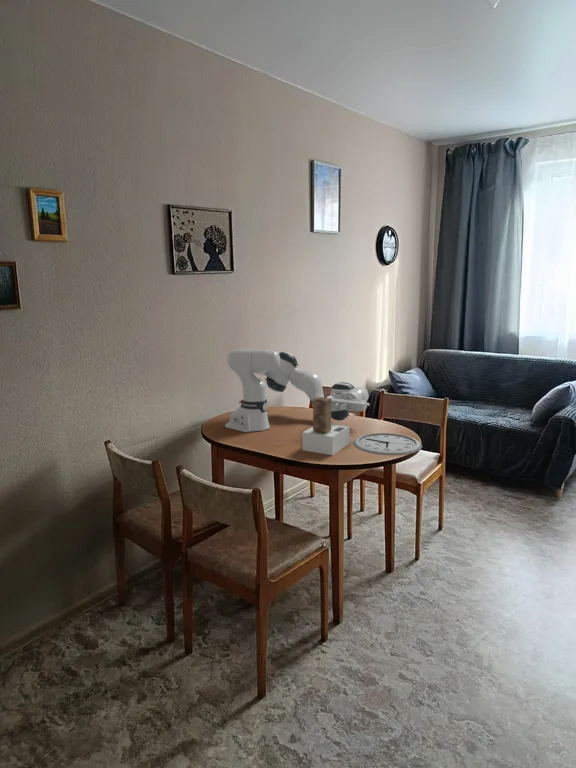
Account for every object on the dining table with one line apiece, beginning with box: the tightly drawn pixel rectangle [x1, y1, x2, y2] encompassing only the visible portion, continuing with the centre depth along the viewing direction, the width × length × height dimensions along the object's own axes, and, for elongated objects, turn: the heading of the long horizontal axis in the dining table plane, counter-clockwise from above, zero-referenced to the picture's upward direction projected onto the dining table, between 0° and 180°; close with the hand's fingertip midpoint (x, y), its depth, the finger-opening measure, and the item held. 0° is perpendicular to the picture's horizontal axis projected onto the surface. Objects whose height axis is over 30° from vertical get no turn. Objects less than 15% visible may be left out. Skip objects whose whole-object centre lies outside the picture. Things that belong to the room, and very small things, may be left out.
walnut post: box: [312, 396, 332, 433], centre depth 226 cm, size 6×5×14 cm
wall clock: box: [352, 432, 423, 456], centre depth 236 cm, size 30×2×30 cm
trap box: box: [302, 423, 351, 456], centre depth 232 cm, size 14×18×8 cm
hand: (338, 407), depth 240 cm, fingers closed
